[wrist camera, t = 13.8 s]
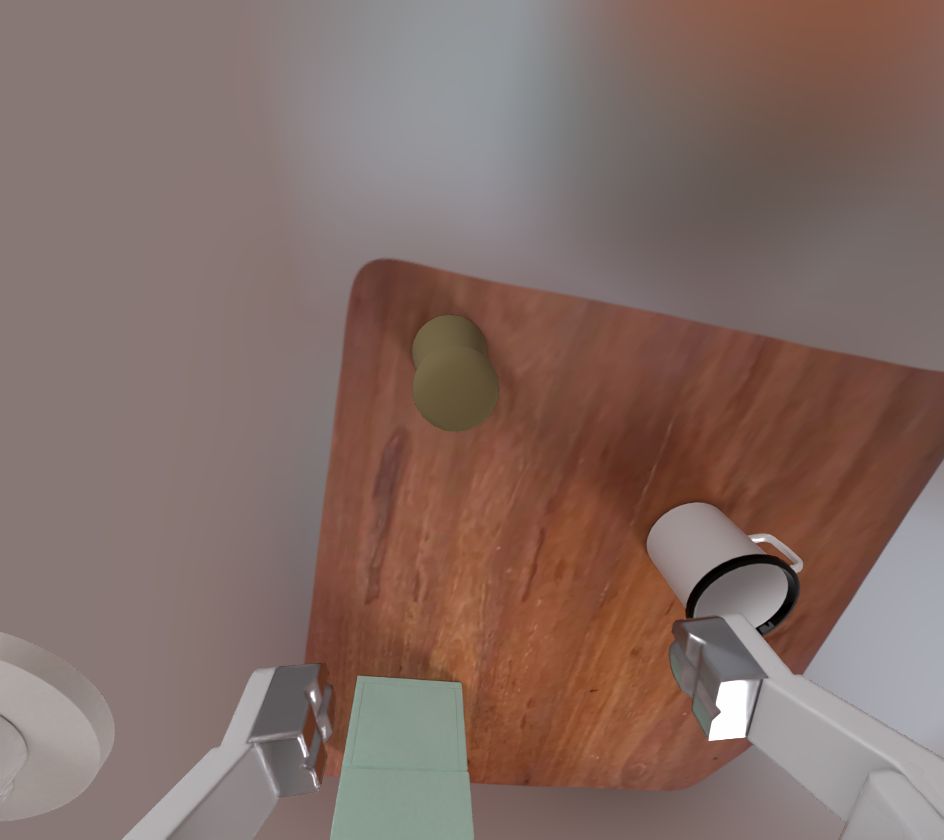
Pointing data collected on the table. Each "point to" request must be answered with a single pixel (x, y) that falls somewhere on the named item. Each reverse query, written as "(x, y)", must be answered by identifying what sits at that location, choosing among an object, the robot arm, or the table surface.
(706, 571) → the mug
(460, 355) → the brown pawn
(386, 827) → the lid
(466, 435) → the table surface
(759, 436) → the table surface
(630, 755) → the table surface
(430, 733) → the light green open box
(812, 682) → the robot arm
